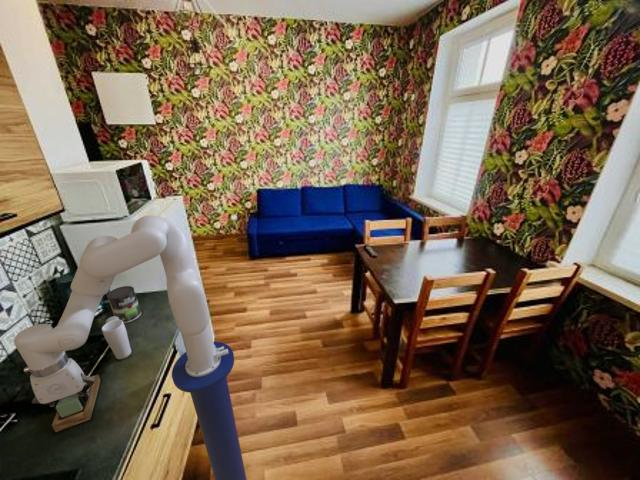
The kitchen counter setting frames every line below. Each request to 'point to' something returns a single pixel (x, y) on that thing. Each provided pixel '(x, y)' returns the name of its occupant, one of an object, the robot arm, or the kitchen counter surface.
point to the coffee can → (124, 303)
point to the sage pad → (69, 405)
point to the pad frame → (81, 415)
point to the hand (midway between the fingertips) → (73, 406)
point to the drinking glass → (117, 338)
